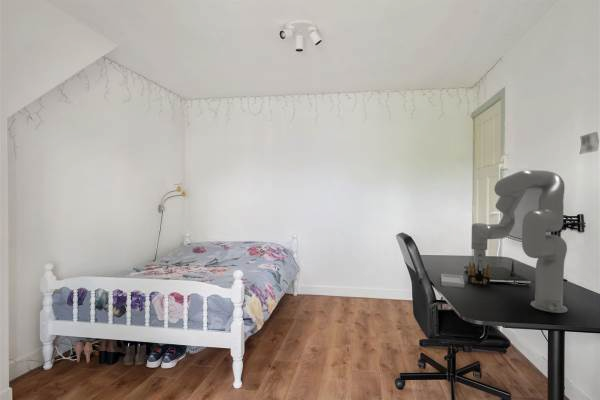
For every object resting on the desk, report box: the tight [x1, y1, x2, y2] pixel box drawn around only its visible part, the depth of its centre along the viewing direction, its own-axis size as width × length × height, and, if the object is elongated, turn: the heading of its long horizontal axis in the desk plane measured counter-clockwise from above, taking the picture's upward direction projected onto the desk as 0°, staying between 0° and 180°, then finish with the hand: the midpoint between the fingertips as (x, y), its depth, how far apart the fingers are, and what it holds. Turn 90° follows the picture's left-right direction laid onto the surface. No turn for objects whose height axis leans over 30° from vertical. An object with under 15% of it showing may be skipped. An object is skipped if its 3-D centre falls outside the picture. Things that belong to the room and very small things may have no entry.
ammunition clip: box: [467, 261, 491, 288], centre depth 176 cm, size 11×2×12 cm, turn 61°
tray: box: [440, 273, 465, 289], centre depth 181 cm, size 18×11×2 cm, turn 157°
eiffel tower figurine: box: [507, 260, 527, 286], centre depth 183 cm, size 15×10×13 cm
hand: (478, 280), depth 176 cm, fingers closed on ammunition clip, 2 cm apart
